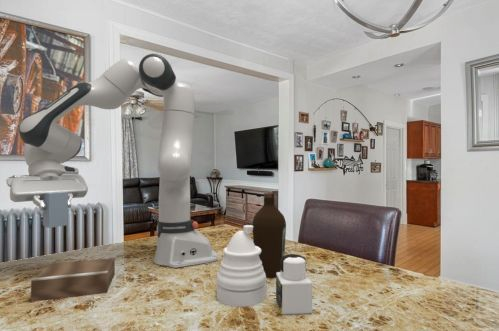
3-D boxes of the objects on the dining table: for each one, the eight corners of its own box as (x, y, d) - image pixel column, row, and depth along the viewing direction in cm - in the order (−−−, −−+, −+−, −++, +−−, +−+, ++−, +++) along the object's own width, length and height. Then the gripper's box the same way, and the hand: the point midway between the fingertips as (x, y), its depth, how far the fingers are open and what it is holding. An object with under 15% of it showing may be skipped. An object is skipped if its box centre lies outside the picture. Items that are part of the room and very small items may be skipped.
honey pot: (271, 288, 79) (271, 222, 79) (257, 310, 66) (257, 232, 67) (228, 282, 83) (228, 220, 83) (207, 302, 71) (207, 228, 71)
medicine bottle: (275, 300, 71) (275, 252, 72) (304, 299, 72) (303, 251, 72) (281, 315, 64) (281, 261, 64) (312, 313, 65) (312, 260, 65)
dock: (114, 274, 89) (114, 257, 89) (106, 292, 76) (107, 272, 76) (51, 280, 84) (51, 262, 84) (30, 301, 71) (31, 280, 71)
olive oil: (253, 278, 86) (253, 194, 86) (251, 266, 96) (251, 191, 96) (288, 278, 86) (288, 194, 86) (283, 266, 97) (283, 191, 97)
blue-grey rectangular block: (61, 223, 91) (61, 191, 91) (67, 225, 88) (68, 192, 88) (42, 225, 87) (43, 192, 87) (48, 227, 84) (49, 193, 84)
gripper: (7, 168, 84) (14, 204, 78) (83, 168, 100) (94, 198, 94) (3, 183, 87) (10, 219, 81) (78, 180, 103) (88, 210, 96)
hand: (56, 207), depth 87 cm, fingers closed on blue-grey rectangular block, 5 cm apart
